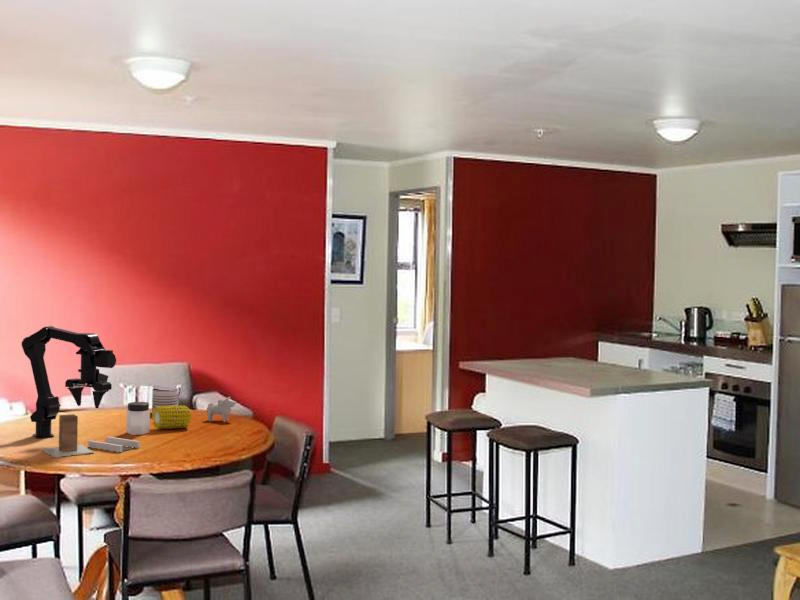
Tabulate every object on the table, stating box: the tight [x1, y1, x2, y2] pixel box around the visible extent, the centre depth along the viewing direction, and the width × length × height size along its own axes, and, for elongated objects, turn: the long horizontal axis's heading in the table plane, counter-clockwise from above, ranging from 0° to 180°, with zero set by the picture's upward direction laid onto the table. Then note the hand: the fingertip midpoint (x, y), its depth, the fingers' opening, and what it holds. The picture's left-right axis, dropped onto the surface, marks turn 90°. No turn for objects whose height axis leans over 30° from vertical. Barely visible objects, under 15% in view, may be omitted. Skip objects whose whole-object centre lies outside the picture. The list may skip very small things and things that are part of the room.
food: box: [151, 405, 192, 430], centre depth 371 cm, size 15×12×10 cm
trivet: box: [42, 444, 95, 458], centre depth 322 cm, size 14×14×1 cm
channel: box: [87, 436, 141, 453], centre depth 331 cm, size 16×10×2 cm, turn 64°
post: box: [58, 414, 79, 452], centre depth 322 cm, size 5×5×12 cm
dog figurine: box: [206, 396, 237, 423], centre depth 392 cm, size 5×13×11 cm, turn 86°
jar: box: [126, 401, 151, 436], centre depth 360 cm, size 9×8×12 cm
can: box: [151, 385, 179, 412], centre depth 407 cm, size 11×11×12 cm
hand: (88, 407), depth 342 cm, fingers open, 9 cm apart
